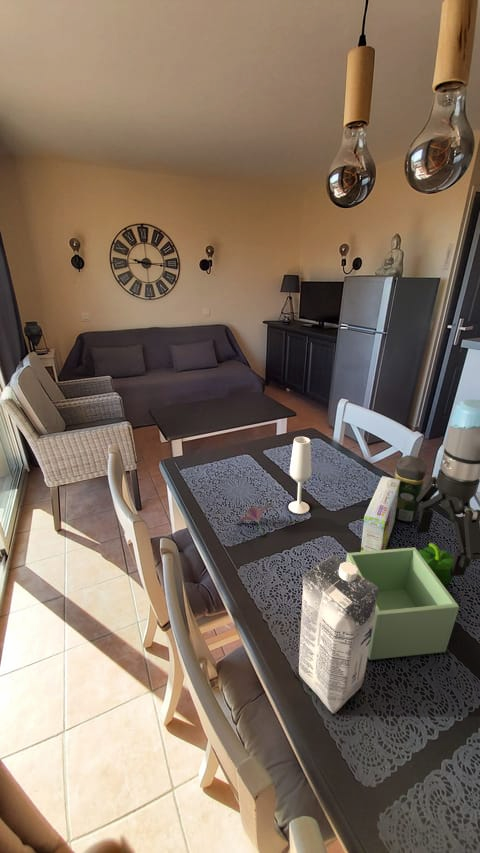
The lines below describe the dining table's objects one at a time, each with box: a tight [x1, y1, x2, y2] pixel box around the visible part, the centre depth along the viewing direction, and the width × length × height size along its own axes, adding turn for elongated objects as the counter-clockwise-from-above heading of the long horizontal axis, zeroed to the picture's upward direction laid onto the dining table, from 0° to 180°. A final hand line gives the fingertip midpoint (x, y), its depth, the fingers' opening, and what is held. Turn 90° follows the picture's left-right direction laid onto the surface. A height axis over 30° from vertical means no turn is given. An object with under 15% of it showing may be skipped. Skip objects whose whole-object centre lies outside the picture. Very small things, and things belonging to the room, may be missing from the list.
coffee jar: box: [394, 454, 427, 523], centre depth 108 cm, size 10×8×19 cm
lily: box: [236, 503, 274, 536], centre depth 106 cm, size 12×12×10 cm
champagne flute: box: [288, 436, 313, 515], centre depth 111 cm, size 7×7×24 cm
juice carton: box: [298, 554, 378, 715], centre depth 62 cm, size 9×10×27 cm
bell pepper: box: [418, 542, 455, 588], centre depth 85 cm, size 8×8×10 cm
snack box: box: [360, 475, 400, 552], centre depth 98 cm, size 21×6×15 cm, turn 149°
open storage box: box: [345, 546, 460, 661], centre depth 76 cm, size 16×16×13 cm
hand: (438, 551), depth 84 cm, fingers open, 13 cm apart
